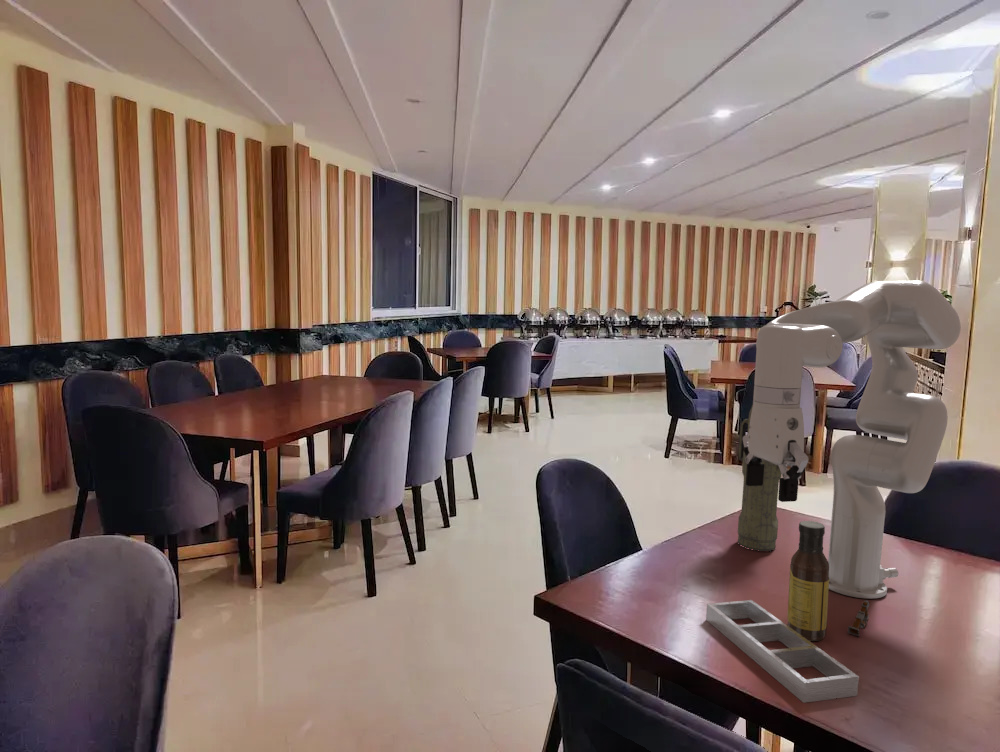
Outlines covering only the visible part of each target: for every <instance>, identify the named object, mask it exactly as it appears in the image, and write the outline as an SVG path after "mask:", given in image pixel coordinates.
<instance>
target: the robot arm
mask: <svg viewBox="0 0 1000 752" xmlns="http://www.w3.org/2000/svg"><path fill="white" fill-rule="evenodd" d="M960 334H961V319H960V316H959V314H958V313H957V311H956V309H955V308H954V307H953V305H952V304H951V303H950V302H949V301H948V300H947V298H945V297H944V295H943V294H942V293H941V292H940V291H939V290H938V289H937V288H936V287H935V286H933V285H932V284H930V283H928V282H927V281H924V280H877V281H871V282H868V283H865V284H863V285H861V286H860V287H858V288H856V289H854V290H853V291H851V292H849V293H847V294H845V295H844V296H842V297H840V298H838V299H836V300H833V301H828V302H824V303H821V304H820V303H819V304H817V305H813V306H812V305H811V306H810V307H809V306H808V307H804V308H801V309H797V310H794V311H790V312H788V313H784V314H782V315H780V316H777V317H776V318H774V319H772V320H771V321H769V322H768V323H766V324H765V325H764V326H762V327H760V329H759V330H758V332H757V335H756V336H757V338H756V343H755V345H756V346H755V347H756V354H755V367H754V371H755V372H754V381H753V382H754V385H753V400H752V405H753V407H752V406H751V407H752V412H751V418H750V425H749V434H748V433H747V434H745V436H744V437H743V444H744V452H745V455H746V459H745V461H746V463H747V471H746V485H747V486H762V485H763V477H764V464H760V463H762V462H763V460H765V461H767V462H770V463H773V464H776V465H778V466H779V468H780V471H781V478H780V480H779V485H778V498H777V501H779V502H781V503H784V502H787V503H788V502H796V501H798V491H799V480H800V479H802V475H803V473H805V471H806V467H807V464H808V462H809V456H808V455H807V454H806V453H805V423H804V413H803V408H802V407H800V406H801V394H802V382H803V381H802V380H803V367H807V368H817V369H818V368H819V369H820V368H825V367H828V366H831V365H833V364H834V363H835V362H837V360H839V358H840V356H841V355H842V352H843V345H844V343H845V344H846V343H852V342H856V341H858V340H861V339H862V338H864V337H865V336H866V340H867V343H868V344H867V345H868V347H869V351H870V356H871V361H872V363H871V364H872V367H871V372H870V375H869V377H868V380H867V383H866V386H865V388H864V391H863V392H862V393H863V394H862V395H861V399H860V402H859V404H858V407H857V410H856V414H855V423H856V425H857V426H858V428H860V429H861V430H862V431H864V432H866V433H869V434H873V435H876V436H882V437H887V438H893V439H899V440H906V442H902V441H896V440H890V439H885V438H880V437H875V436H869V435H861V434H848V435H845V436H842V437H839V438H838V439H837V440H836V442H835V443H834V444H833V446H832V449H831V459H830V461H831V469H832V478H833V494H832V495H833V498H832V509H831V510H832V511H831V522H830V535H829V548H828V556H827V557H828V559H827V561H828V563H829V590H830V591H832V592H835V593H837V594H840V595H844V596H847V597H851V598H852V597H853V598H859V599H866V600H868V599H871V600H873V599H874V600H875V599H880V598H884V597H885V596H886V595H887V594H888V587H887V585H886V584H885V583H884V580H886V579H889V578H890V579H891V578H898V576H899V570H898V569H897V568H896V567H888V568H884V567H883V566H882V565H881V562H882V549H883V542H884V541H883V540H884V529H885V528H884V527H885V518H886V504H885V501H884V498H883V495H882V493H881V491H880V490H879V489H878V488H883V489H886V490H891V491H894V492H900V493H905V494H916V493H918V492H921V491H922V490H923V489H924V488H925V487H926V485H927V483H928V481H930V480H929V479H930V476H931V475H932V474H931V473H932V471H933V469H934V466H935V463H936V461H937V458H938V454H939V451H940V449H941V446H942V442H943V440H944V436H945V434H946V430H947V426H948V411H947V410H948V408H947V406H946V404H945V403H944V401H943V400H942V399H940V398H939V397H937V396H935V395H930V394H925V393H917V392H914V391H915V389H916V385H917V383H918V379H919V374H918V373H919V372H918V370H917V368H916V367H917V366H916V365H915V364H914V362H913V361H912V359H911V357H909V355H908V354H907V353H906V351H905V349H904V348H910V349H923V350H924V349H926V350H944V349H947V348H950V347H952V346H953V345H954V344H955V343H956V342H957V340H958V339H959V336H960ZM787 467H790V468H789V469H788V468H787Z"/></svg>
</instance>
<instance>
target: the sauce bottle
mask: <svg viewBox="0 0 1000 752" xmlns="http://www.w3.org/2000/svg"><path fill="white" fill-rule="evenodd" d="M825 531H826V527H825V525H824V524H823V523H821V522H818V521H813V520H803V521H800V522H799V524H798V532H799V540H798V541H799V542H798V549H797V550H796V551H795V553H794V554H793V555H792V556H791V561H790V565H789V579H788V580H789V581H788V598H787V626H789V627H790V628H792V629H793V630H794V631H796V632H797V633H799V634H800V635H801V636H803V637H804V638H806V639H807V640H808V641H810V642H817V641H822V640H823V639H824V638H825V636H826V629H827V624H828V622H827V621H828V607H829V605H828V603H829V590H830V589H829V563H828V559H827V558H826V556H825V554H824V547H823V546H824V535H825Z"/></svg>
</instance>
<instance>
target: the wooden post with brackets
mask: <svg viewBox="0 0 1000 752" xmlns="http://www.w3.org/2000/svg"><path fill="white" fill-rule="evenodd" d="M869 607H870V601H869V600H868V599H866V600H863V602H862V603H861V605H860V610H858V611H857V614H856V616H855V620H854V621H853V623H852V624H851V626H850V625H848V626H847V634H849V635H853V636H856V637H859V638H860V629H863V628H865V627H866V626H867V624H868V623H867V622H868V621H869V617H870V616H869V611H868V609H869Z"/></svg>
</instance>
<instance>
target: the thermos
mask: <svg viewBox="0 0 1000 752" xmlns="http://www.w3.org/2000/svg"><path fill="white" fill-rule="evenodd" d="M752 407H753V404H751V407H750V410H749V412H748V418H745V419H743V420H742V421H741V423H740V424H739V436H738V437H739V439H738V449H737V450H738V453H737V454H738V461H740V462H741V464H742V469H741V470H742V472H741V473H742V475H743V485H742V486H743V487H742V500H741V512H740V514H739V516H738V524H737V535H738V536H737V537H738V538H737V544H738V543H739V544H740V545H742V546H744V547H746V548H749V549H753V550H759V551H770V552H772V551H771V550H774V549H775V548H776V546H777V544H776V541H777V539H778V529H779V519H778V516H777V511H778V509H777V508H778V496H779V481H780V478H782V474H781V471H780V468H779V466H778V465H776V464H773V463H770V462H767V461H765V460H763V462H762V463H760V464H764V477H763V485H762V486H747V485H746V471H747V463H746V461H745V459H746V455H745V452H744V448H745V447H744V444H743V437H744V436H745V435H746V426H747V434H749V425H750V418H751V412H752ZM775 550H776V549H775ZM775 550H774V551H775Z"/></svg>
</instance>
